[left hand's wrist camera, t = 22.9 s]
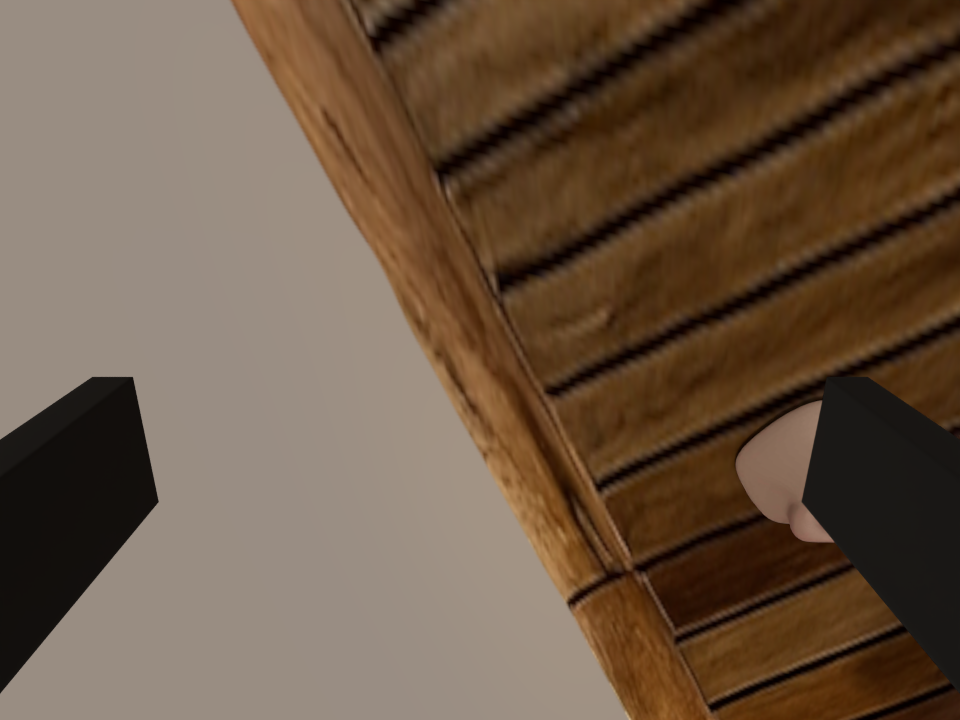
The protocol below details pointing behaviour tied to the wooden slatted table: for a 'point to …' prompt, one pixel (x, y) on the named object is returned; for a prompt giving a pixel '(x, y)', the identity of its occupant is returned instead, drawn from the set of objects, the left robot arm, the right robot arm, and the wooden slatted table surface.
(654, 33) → the wooden slatted table surface
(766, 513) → the anatomical model
